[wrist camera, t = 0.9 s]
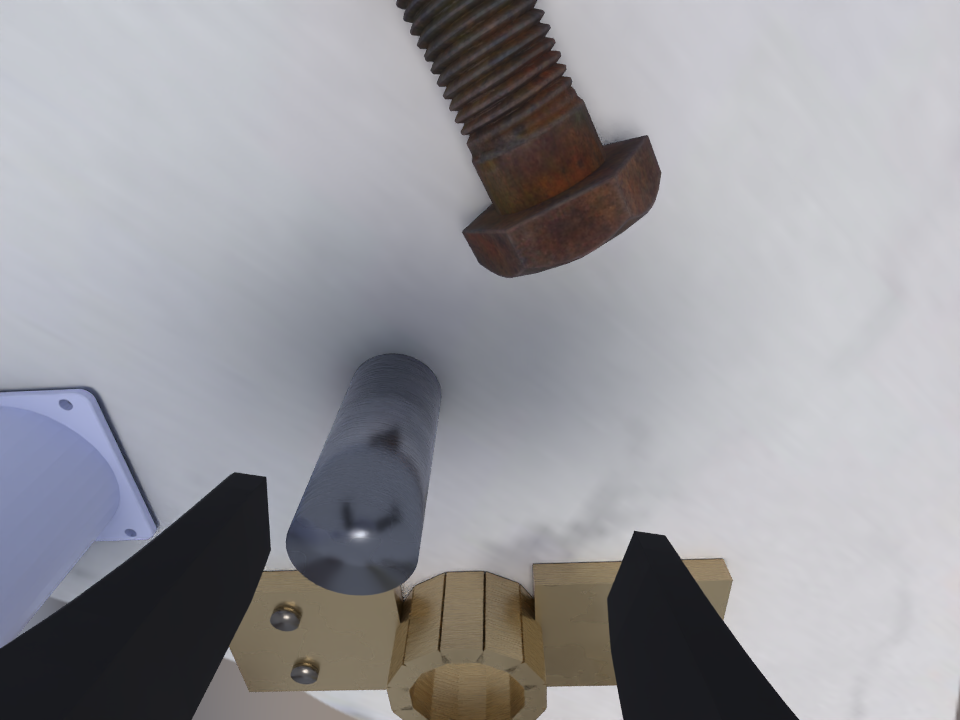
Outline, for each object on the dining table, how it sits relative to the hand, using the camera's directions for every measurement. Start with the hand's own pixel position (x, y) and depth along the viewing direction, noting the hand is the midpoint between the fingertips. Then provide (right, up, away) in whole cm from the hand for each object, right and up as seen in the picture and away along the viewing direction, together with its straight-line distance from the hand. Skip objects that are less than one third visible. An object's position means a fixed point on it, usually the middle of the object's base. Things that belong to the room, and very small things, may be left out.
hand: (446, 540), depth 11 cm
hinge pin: (-3, +2, +11) cm, 12 cm away
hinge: (0, -10, +18) cm, 20 cm away
